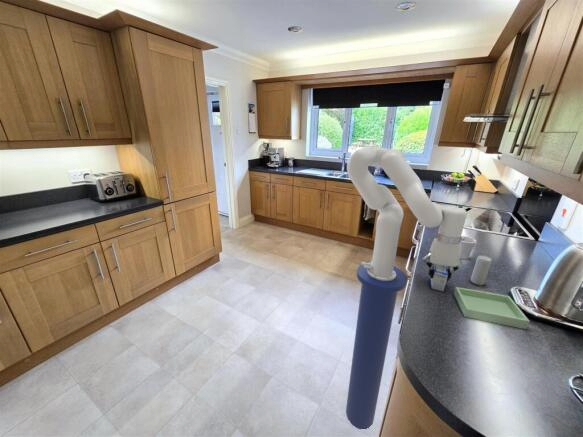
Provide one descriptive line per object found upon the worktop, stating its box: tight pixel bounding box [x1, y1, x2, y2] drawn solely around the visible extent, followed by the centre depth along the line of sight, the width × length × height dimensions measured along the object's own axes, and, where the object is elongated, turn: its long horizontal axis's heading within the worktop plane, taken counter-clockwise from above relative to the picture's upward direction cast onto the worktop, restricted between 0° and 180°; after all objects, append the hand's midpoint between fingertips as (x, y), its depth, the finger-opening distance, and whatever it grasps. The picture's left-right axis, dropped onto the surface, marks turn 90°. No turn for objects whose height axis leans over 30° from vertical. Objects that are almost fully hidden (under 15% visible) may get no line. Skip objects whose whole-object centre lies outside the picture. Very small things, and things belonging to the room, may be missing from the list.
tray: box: [453, 286, 530, 330], centre depth 88 cm, size 18×14×3 cm
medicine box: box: [430, 264, 448, 292], centre depth 101 cm, size 8×4×9 cm, turn 154°
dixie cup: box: [460, 235, 477, 260], centre depth 125 cm, size 8×8×10 cm
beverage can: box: [470, 255, 492, 286], centre depth 102 cm, size 5×5×12 cm
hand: (438, 277), depth 101 cm, fingers open, 5 cm apart
